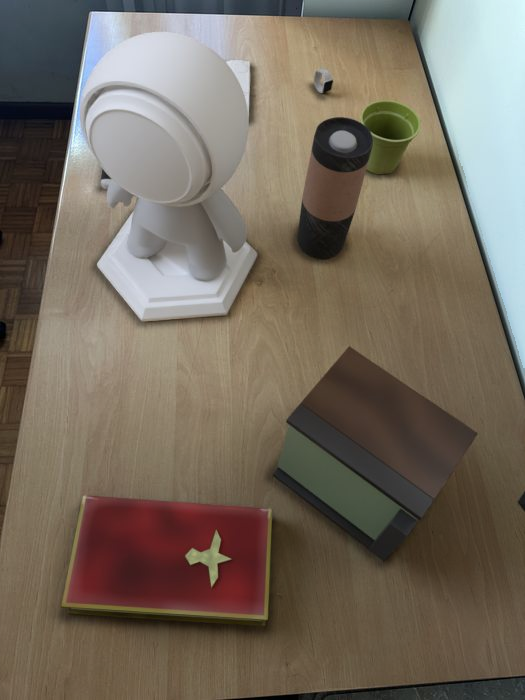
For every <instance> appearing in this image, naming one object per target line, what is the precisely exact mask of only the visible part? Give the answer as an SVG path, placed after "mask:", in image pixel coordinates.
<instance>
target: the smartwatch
mask: <svg viewBox="0 0 525 700" xmlns="http://www.w3.org/2000/svg"><path fill="white" fill-rule="evenodd" d="M322 78H323V79H324V80H323V82H321V81H322ZM313 84H314V87H315V89H316V90H317V92H318V93H320V94H324V93H328V92H330V91H331V90H332V88H333V84H334V79H333V77H332V75H331V74H330V71H328V69H326V68H319V69H316V71H315V72H314V74H313Z"/></svg>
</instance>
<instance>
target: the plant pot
mask: <svg viewBox="0 0 525 700" xmlns="http://www.w3.org/2000/svg"><path fill="white" fill-rule="evenodd" d="M359 118H360V119H359V120H360V123H362V124H363V125H365V126H366V127H367V128H368V129H369V131H370V132H371V134H372V137H373V146H372V150H371V154H370V157H369V161H368V165H367V169H366V171H368V172H370V173H372V174H375V175H381V174H387V175H388V174H391V173H393V172H394V171H395V170H396V169H397V167H398V165H399V163H400V162H401V159H402V157H403V155H404V153H405V152H406V150H407V148H408V146H409V144H410V143H411V142H412V141H413V140H414V139H415V138H416V137H417V136H418V135H419V133H420V131H421V128H422V122H421V121H422V120H421V118H420V115H418V113H417V112H416V111H415V110H414V109H413V108H412V107H410V106H408V105H407V104H405V103H402V102H400V101H395V100H391V99H389V100H388V99H381V100H376V101H372V102H370V103H369V104H367V105H365V107H363V109H362V110H361V112H360V117H359Z"/></svg>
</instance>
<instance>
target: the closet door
mask: <svg viewBox="0 0 525 700" xmlns="http://www.w3.org/2000/svg"><path fill="white" fill-rule="evenodd" d="M278 467H279V468H280V469H282V470H283V471H284V472H286V473H287V474H288V475H290V476H291V477H292V478H293V479H295V480H296V481H297V482H299V483H300V484H301V485H303V486H304V487H305V488H307V489H308V490H309V491H311V492H312V493H313V494H315V495H316V496H317V497H318V498H320V499H321V500H322V501H324V502H325V503H326V504H328V505H329V506H330V507H332V508H333V509H334V510H336V511H337V512H338V513H339V514H341V515H342V516H343V517H345V518H346V519H347V520H349V521H350V522H351V523H353V524H354V525H355V526H357V527H358V528H359V529H360V530H362V531H363V532H364V533H366V534H367V535H368V536H370V537H371V538H372V539H374V540H375V541H374V543H373V544H372V545H371V547H370V548H369V549H368V551H369V552H370V553H372V554H373V555H374V556H376V557H377V558H378V559H380V560H381V561H382V562H385V560H386V559H388V557H389V556H391V554H392V553H393V552H394V551H396V549H397V548H398V547H399V546H400V545H401V544H402V542H404V540H406V538H408V536H409V535H410V533H411V532H412V530H413V529H414V527H415V525H416V524H417V523H418V521H419V520H418V519H417V518H415V517H414V516H412V515H411V514H410V513H408V512H407V511H406V510H404V509H403V508H402V507H400V506H399V505H397V504H396V503H395V502H393V501H392V500H391V499H389V498H388V497H387V496H385V495H384V494H383V493H381V492H380V491H378V490H377V489H376V488H374V487H373V486H372V485H370V484H369V483H368V482H366V481H365V480H364V479H362V478H361V477H359V476H358V475H357V474H355V473H354V472H353V471H351V470H350V469H349V468H347V467H346V466H344V465H343V464H342V463H340V462H339V461H338V460H336V459H335V458H334V457H332V456H331V455H330V454H328V453H327V452H325V451H324V450H323V449H321V448H320V447H319V446H317V445H316V444H315V443H313V442H312V441H311V440H309V439H308V438H306V437H305V436H304V435H302V434H301V433H300V432H298V431H297V430H296V429H294V428H293V427H292V426H290V425H289V424H288V426H287V430H286V434H285V437H284V440H283V445H282V448H281V453H280V456H279V460H278V464H277V468H278Z"/></svg>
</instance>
